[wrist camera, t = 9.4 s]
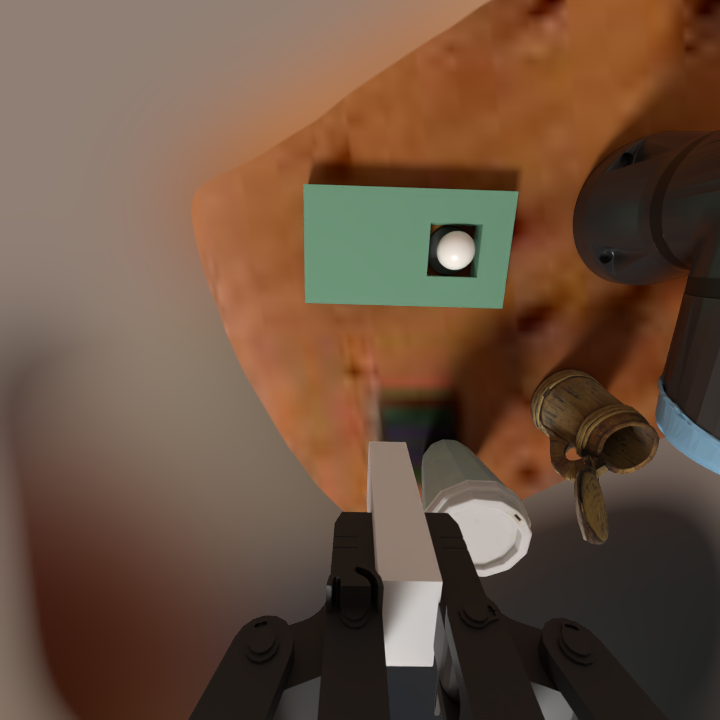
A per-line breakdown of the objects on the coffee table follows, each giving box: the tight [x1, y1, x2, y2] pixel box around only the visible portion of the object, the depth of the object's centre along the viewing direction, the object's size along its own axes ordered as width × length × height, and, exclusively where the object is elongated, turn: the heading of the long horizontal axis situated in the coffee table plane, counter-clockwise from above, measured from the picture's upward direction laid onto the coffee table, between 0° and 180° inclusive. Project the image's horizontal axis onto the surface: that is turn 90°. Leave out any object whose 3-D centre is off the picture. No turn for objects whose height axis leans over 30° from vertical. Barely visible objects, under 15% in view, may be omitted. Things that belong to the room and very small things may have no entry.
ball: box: [437, 231, 475, 270], centre depth 38 cm, size 4×4×4 cm
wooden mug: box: [531, 369, 659, 544], centre depth 38 cm, size 9×14×18 cm, turn 124°
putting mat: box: [304, 184, 519, 308], centre depth 39 cm, size 22×12×2 cm, turn 88°
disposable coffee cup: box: [422, 439, 532, 577], centre depth 41 cm, size 11×11×15 cm
